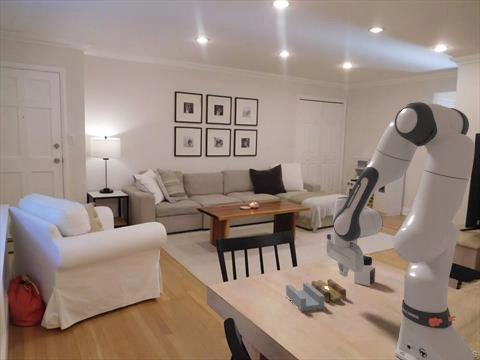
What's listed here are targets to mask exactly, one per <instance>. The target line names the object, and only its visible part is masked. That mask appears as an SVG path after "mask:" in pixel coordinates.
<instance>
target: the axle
mask: <svg viewBox="0 0 480 360" xmlns="http://www.w3.org/2000/svg"><path fill="white" fill-rule="evenodd" d="M316 282H317V283H318V284H319V285H321V286H322V287H323V288H325V289H326V290H327V291H329V300H330V301H332V302H333V303H339V302H341V300H342V299H341V294H340V293H338V292H337V291H335V290H334V289H333V288H331V287H330V286H329V285H328V283H326V282H325V281H324V280H321V279H320V280H317V281H316Z"/></svg>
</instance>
